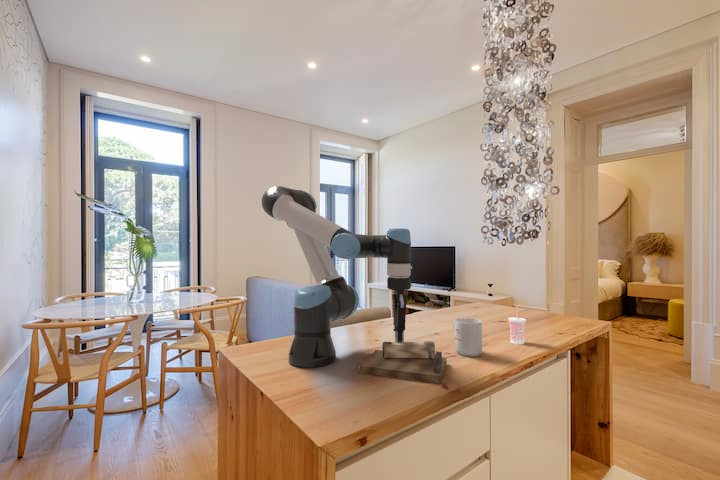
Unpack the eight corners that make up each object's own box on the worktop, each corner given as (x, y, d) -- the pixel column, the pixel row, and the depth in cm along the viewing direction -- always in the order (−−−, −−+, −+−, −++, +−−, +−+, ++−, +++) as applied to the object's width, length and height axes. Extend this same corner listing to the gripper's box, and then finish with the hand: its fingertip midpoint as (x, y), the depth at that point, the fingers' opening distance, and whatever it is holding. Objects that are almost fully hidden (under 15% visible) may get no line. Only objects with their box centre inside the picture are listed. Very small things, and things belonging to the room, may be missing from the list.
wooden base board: (359, 372, 96) (359, 351, 96) (375, 355, 111) (375, 337, 111) (440, 383, 88) (440, 360, 88) (446, 364, 103) (446, 344, 103)
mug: (488, 355, 111) (487, 322, 111) (466, 358, 108) (465, 324, 108) (465, 345, 122) (465, 315, 123) (444, 348, 119) (444, 317, 119)
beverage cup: (518, 339, 130) (517, 304, 131) (530, 344, 124) (529, 306, 125) (505, 340, 129) (504, 304, 129) (516, 345, 123) (515, 307, 123)
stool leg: (433, 355, 104) (433, 341, 104) (435, 358, 101) (435, 344, 101) (382, 354, 105) (382, 340, 105) (382, 357, 102) (382, 343, 102)
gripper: (414, 278, 100) (415, 357, 99) (406, 274, 112) (407, 344, 112) (390, 278, 99) (390, 357, 99) (384, 274, 112) (385, 344, 112)
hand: (399, 350), depth 105 cm, fingers closed
